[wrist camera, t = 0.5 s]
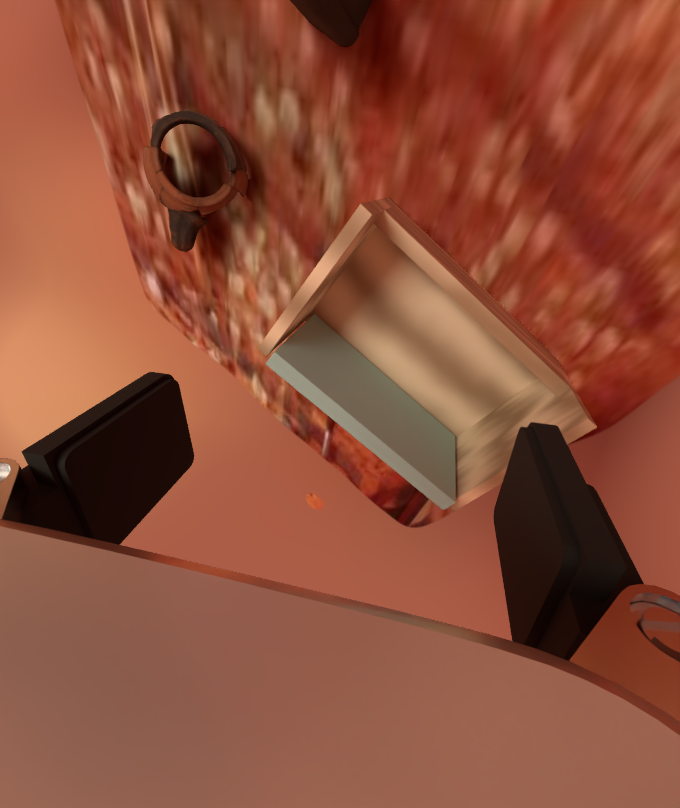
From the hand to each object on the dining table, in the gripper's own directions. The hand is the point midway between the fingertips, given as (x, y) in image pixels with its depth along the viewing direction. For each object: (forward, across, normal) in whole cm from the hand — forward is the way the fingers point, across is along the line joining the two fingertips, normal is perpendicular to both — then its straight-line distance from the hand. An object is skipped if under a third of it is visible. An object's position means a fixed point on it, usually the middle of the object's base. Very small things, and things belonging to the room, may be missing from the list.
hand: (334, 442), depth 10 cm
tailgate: (+30, +2, +13) cm, 32 cm away
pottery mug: (+33, +22, -6) cm, 40 cm away
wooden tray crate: (+32, -2, +7) cm, 33 cm away
